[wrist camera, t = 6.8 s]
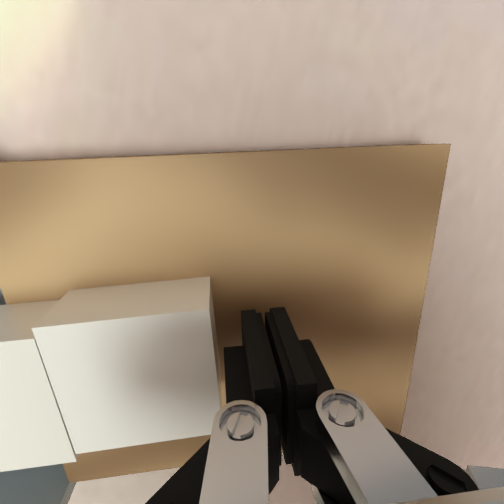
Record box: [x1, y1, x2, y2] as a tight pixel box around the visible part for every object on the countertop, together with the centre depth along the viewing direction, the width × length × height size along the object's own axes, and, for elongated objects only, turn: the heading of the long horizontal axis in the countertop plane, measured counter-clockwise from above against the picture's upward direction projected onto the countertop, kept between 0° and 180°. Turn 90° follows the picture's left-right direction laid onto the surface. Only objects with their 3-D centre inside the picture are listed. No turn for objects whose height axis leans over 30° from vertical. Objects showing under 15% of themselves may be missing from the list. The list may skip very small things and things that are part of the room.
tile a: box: [32, 276, 223, 454], centre depth 11 cm, size 5×5×2 cm
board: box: [0, 144, 451, 483], centre depth 13 cm, size 14×16×2 cm
